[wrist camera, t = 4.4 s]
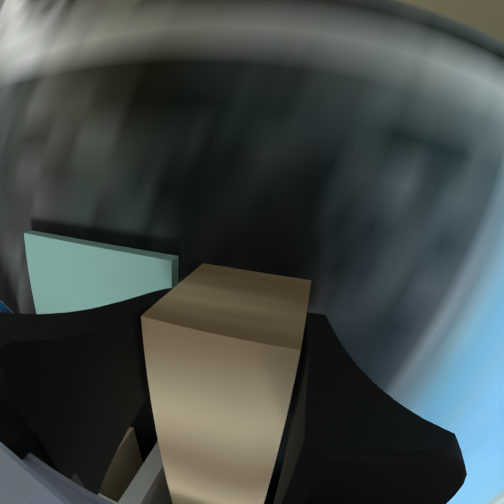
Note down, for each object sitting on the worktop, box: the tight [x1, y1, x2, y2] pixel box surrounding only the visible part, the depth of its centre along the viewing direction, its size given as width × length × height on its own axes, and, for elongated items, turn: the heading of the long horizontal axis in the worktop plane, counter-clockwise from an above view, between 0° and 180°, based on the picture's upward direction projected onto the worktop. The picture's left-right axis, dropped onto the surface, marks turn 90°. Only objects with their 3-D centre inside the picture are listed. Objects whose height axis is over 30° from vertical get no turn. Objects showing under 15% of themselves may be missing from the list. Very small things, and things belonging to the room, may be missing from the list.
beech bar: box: [141, 263, 311, 504], centre depth 11 cm, size 12×4×4 cm, turn 175°
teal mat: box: [24, 230, 179, 314], centre depth 13 cm, size 7×9×1 cm
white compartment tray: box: [98, 427, 173, 504], centre depth 13 cm, size 7×18×6 cm, turn 85°
